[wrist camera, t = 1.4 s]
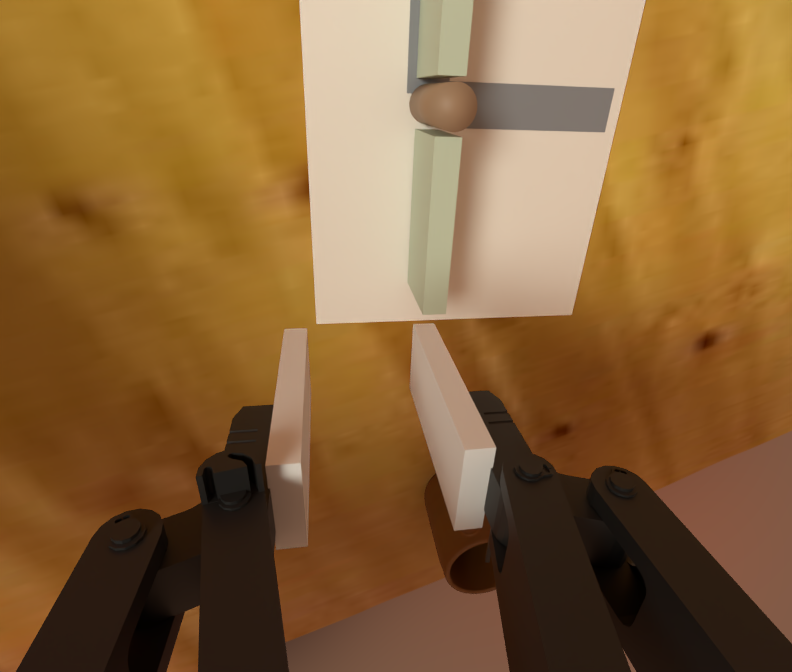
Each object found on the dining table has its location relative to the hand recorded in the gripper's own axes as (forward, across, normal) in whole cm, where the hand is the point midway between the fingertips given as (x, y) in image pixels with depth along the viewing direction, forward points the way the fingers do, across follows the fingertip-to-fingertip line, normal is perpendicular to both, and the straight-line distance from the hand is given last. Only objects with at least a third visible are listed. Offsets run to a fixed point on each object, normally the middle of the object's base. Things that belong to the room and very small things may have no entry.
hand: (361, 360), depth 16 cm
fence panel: (+19, +6, +1) cm, 20 cm away
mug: (+20, +11, -26) cm, 34 cm away
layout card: (+20, +9, +8) cm, 23 cm away
